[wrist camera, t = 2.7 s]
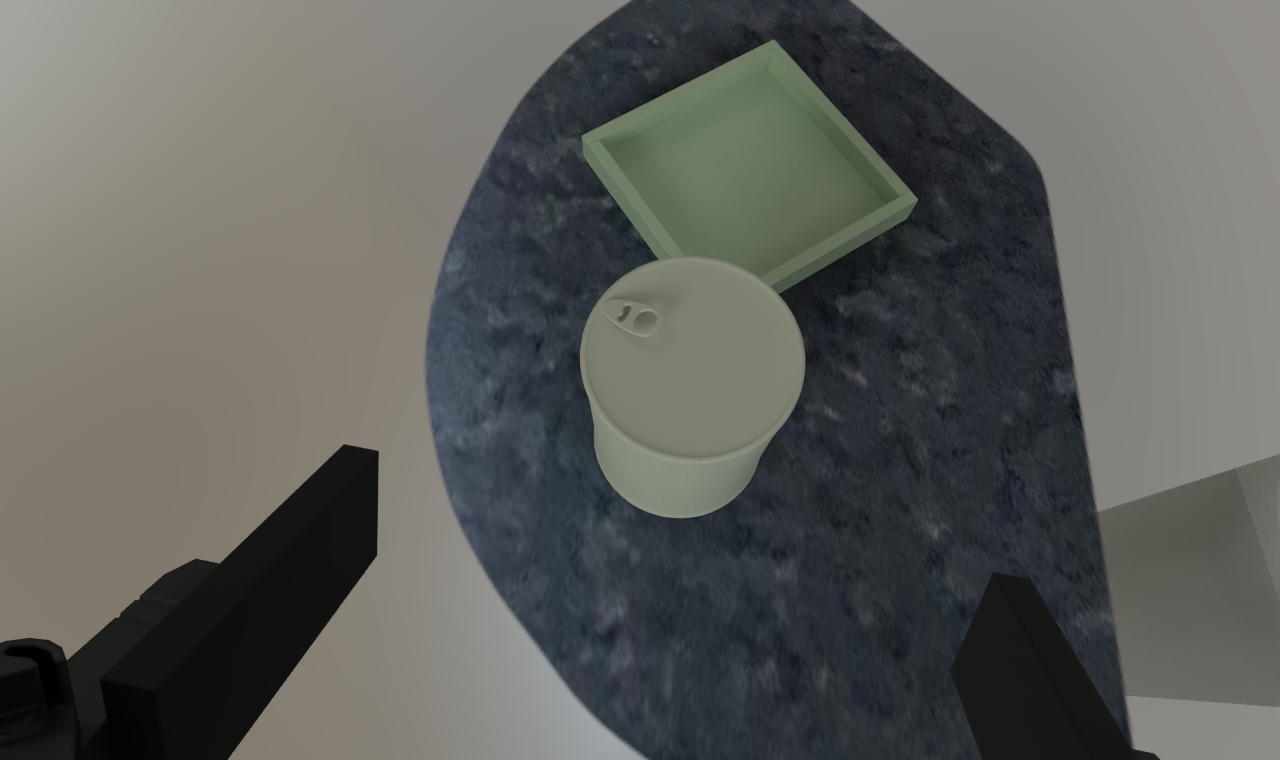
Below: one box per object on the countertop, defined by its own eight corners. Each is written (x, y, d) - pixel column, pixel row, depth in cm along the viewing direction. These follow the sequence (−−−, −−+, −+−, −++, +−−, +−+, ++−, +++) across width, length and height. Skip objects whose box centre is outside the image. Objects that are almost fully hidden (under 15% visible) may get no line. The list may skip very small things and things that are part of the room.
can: (648, 330, 42) (652, 212, 31) (790, 407, 41) (848, 312, 30) (561, 463, 40) (532, 385, 28) (710, 551, 38) (741, 507, 27)
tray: (906, 219, 45) (919, 199, 43) (712, 333, 42) (715, 317, 40) (768, 63, 50) (774, 38, 48) (583, 157, 47) (581, 135, 45)
